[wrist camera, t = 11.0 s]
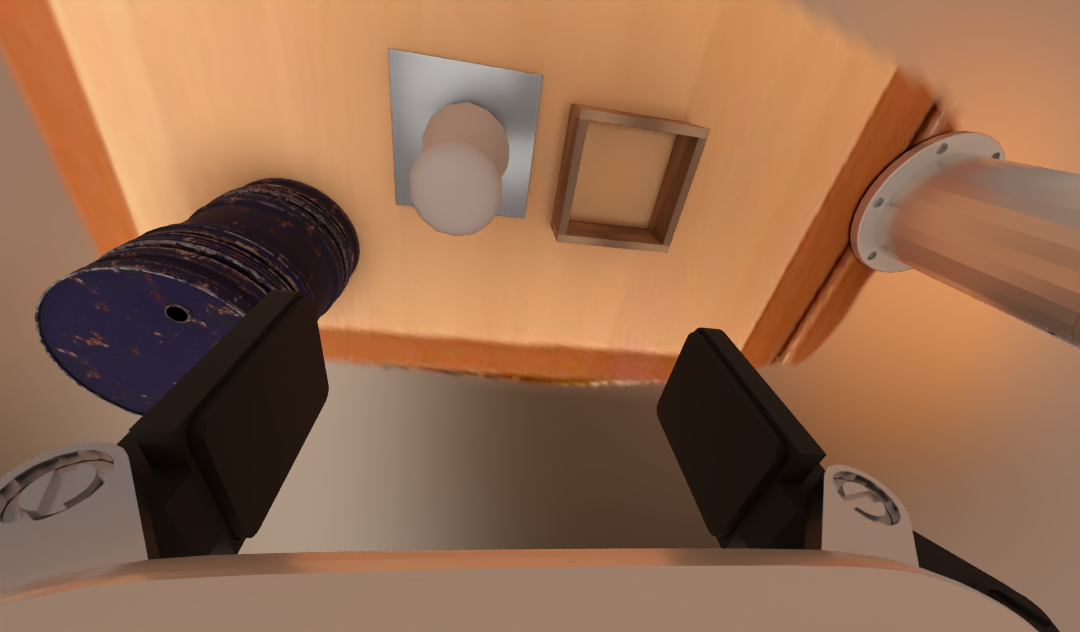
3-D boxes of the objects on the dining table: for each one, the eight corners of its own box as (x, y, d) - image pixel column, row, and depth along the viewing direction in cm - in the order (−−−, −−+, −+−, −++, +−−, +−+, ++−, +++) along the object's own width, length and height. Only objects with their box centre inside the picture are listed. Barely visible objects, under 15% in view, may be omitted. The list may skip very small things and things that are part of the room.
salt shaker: (450, 80, 26) (422, 92, 15) (522, 131, 28) (544, 174, 17) (413, 159, 28) (367, 218, 17) (483, 200, 30) (480, 275, 20)
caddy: (688, 122, 29) (710, 129, 27) (652, 236, 34) (667, 252, 31) (571, 103, 28) (581, 108, 25) (550, 225, 33) (556, 241, 30)
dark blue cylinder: (337, 311, 35) (254, 447, 22) (212, 260, 31) (29, 390, 19) (379, 219, 31) (306, 324, 18) (241, 148, 27) (34, 220, 15)
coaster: (541, 75, 27) (542, 75, 26) (523, 215, 32) (524, 218, 32) (390, 48, 25) (388, 48, 24) (397, 202, 30) (396, 204, 30)
